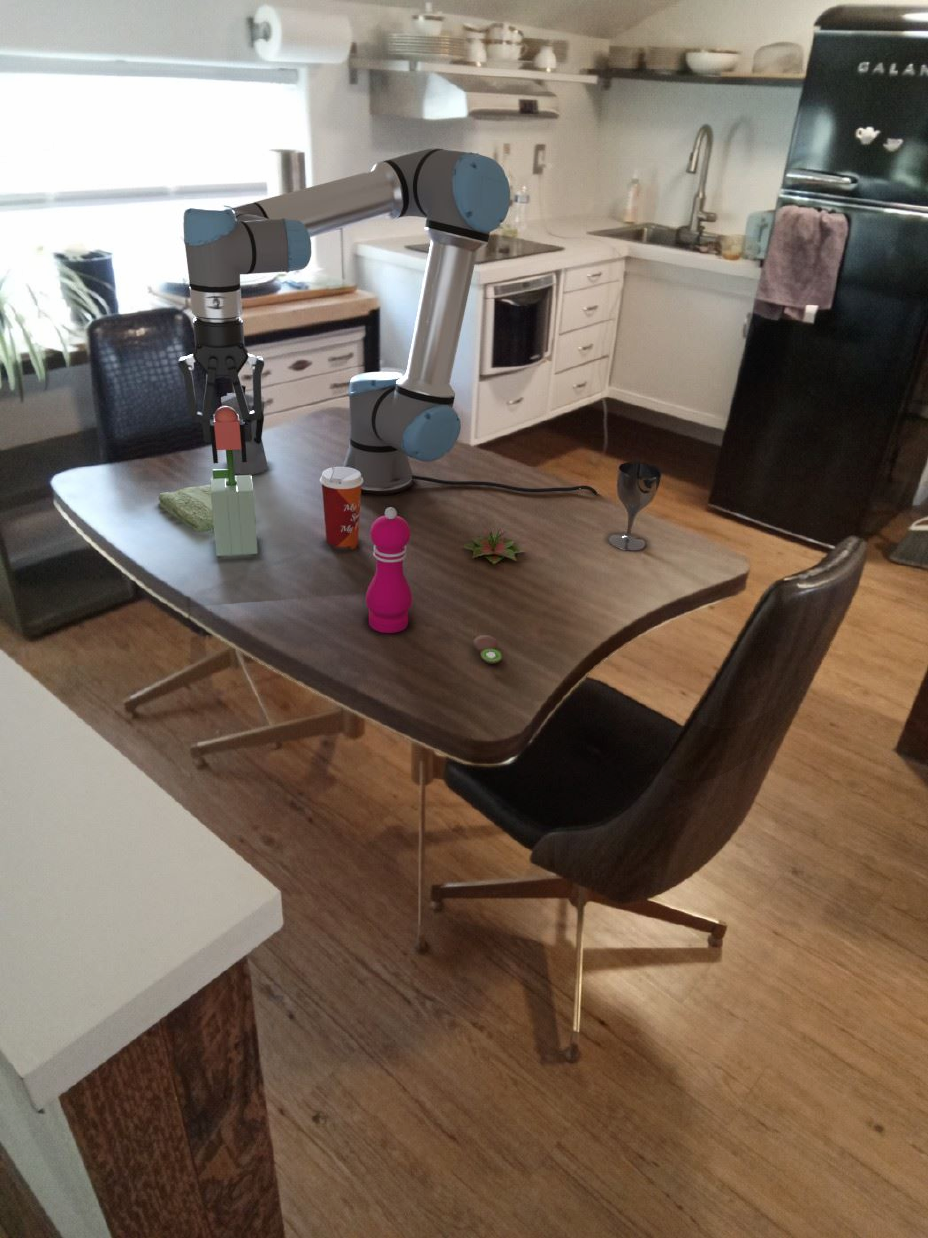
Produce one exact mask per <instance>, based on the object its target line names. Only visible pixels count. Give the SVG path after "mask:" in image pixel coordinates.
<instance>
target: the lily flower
mask: <svg viewBox="0 0 928 1238" xmlns="http://www.w3.org/2000/svg"><path fill="white" fill-rule="evenodd" d="M501 530H502V527H500V528H499V529H498V531H497V534H495V533H493V532H492V529H491V528H490V527H489V526H488V529H486V531H485V533H486V535H487V536H485V535H484V534H482V535H481V536H478V537H471V540H472V541H473V542H469V543H465V544H464V545H459V547H460V548H464V549H467V550H471V551H473V552H472V557H471V558H472V559H474V558H478V557H482V556H484V558H486V559H487V560H488V561H489V562H491V563H492V565H496V564H497V563H498V562H500V561H501V560H502V559H503V558H504V557H505V558H508V559H511V560H513V561H517V558H516V556H515V554H517V553H518V554H519V553H523V552H527V550H526V549H524V548H522V547H519V546H517V545H513V544H514V540H512V539H508V538H506V537H504V536H505V534H504V533H508V530H505V531H503V532H501V533H500V531H501ZM499 533H500V534H499ZM501 536H503V537H501Z"/></svg>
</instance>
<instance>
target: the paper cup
mask: <svg viewBox="0 0 928 1238" xmlns="http://www.w3.org/2000/svg"><path fill="white" fill-rule="evenodd" d="M319 483H320V484H321V491H322V503H323V513H324V514H323V515H324V516H323V517H324V526H325V527H324V528H325V538H326V542H327V543H328V544H329V545H330V546H334V547H338V548H346V547H350V550H355V549H356V548H357V547H358V541H359V528H360V514H361V513H360V512H361V497H362V493H361V484H362V483H363V478H362V477H361V473H360V472H359V471H358V470H356V469H354V468H350V467H343V466H332V467H329V468H328V467H327V468H326V469H324V470H323V471H322V474H321V476H320V477H319Z"/></svg>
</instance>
